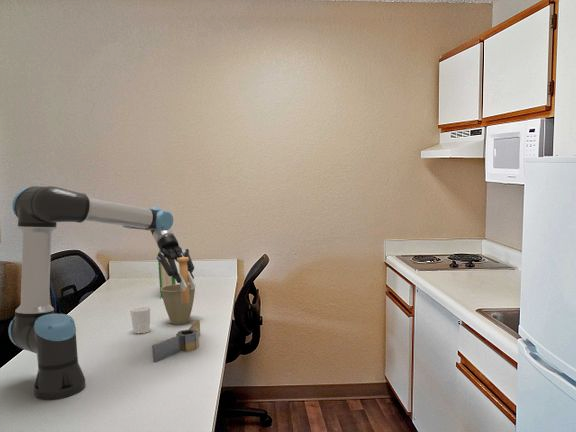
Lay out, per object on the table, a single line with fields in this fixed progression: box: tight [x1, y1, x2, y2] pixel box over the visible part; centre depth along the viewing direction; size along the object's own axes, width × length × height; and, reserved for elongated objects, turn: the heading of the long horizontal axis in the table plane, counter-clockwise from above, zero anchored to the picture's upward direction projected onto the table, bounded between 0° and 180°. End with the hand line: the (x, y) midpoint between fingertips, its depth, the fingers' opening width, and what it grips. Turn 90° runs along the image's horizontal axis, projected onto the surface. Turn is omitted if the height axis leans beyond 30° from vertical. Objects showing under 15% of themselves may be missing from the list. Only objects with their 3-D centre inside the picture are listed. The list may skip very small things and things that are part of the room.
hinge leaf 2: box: [181, 319, 201, 353], centre depth 212 cm, size 8×21×6 cm, turn 175°
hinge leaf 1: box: [151, 328, 199, 363], centre depth 201 cm, size 20×8×6 cm, turn 145°
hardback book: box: [157, 249, 177, 298], centre depth 295 cm, size 18×7×24 cm, turn 10°
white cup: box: [130, 305, 151, 335], centre depth 229 cm, size 8×8×10 cm
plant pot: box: [161, 283, 196, 326], centre depth 240 cm, size 15×15×16 cm
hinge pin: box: [176, 256, 189, 303], centre depth 204 cm, size 4×4×17 cm
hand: (189, 287), depth 201 cm, fingers closed on hinge pin, 3 cm apart
